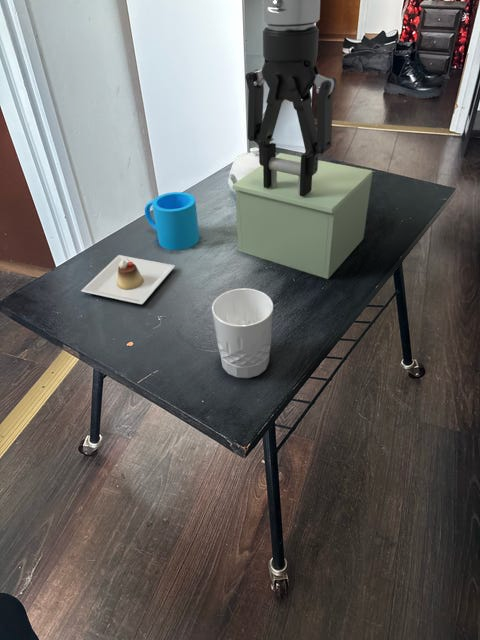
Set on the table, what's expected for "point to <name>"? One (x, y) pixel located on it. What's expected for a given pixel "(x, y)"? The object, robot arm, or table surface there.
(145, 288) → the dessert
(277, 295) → the table surface
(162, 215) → the mug
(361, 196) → the chest
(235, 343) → the white cup
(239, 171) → the teapot
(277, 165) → the chest lid
